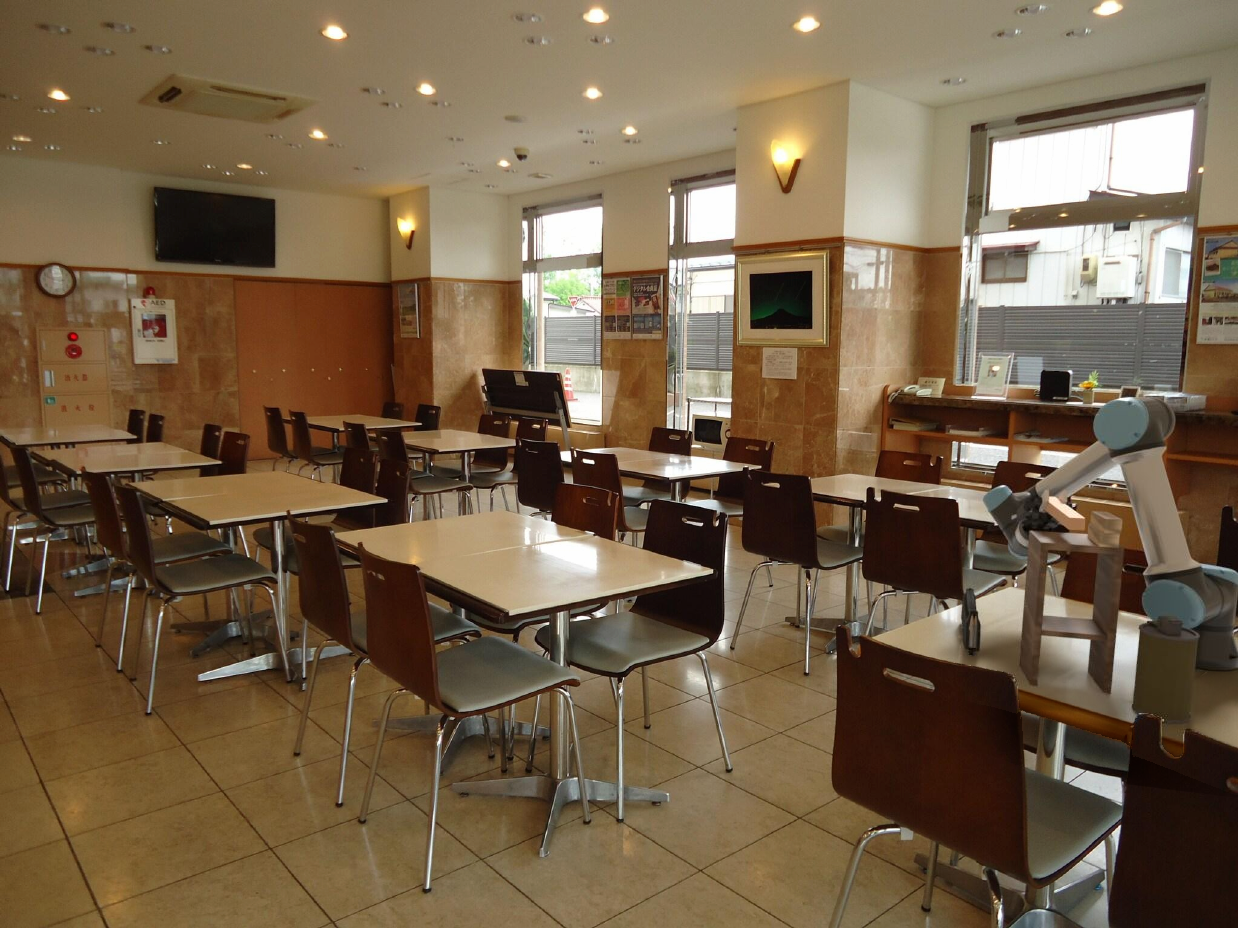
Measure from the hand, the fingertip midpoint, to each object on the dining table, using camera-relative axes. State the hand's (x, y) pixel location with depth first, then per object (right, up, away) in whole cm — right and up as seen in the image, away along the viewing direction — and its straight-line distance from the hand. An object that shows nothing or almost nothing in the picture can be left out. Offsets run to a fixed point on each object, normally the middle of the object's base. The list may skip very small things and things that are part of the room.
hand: (1056, 495), depth 201 cm
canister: (+10, -44, -22) cm, 50 cm away
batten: (-2, -5, -6) cm, 7 cm away
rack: (0, -41, -4) cm, 41 cm away
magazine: (-11, -38, +21) cm, 45 cm away
